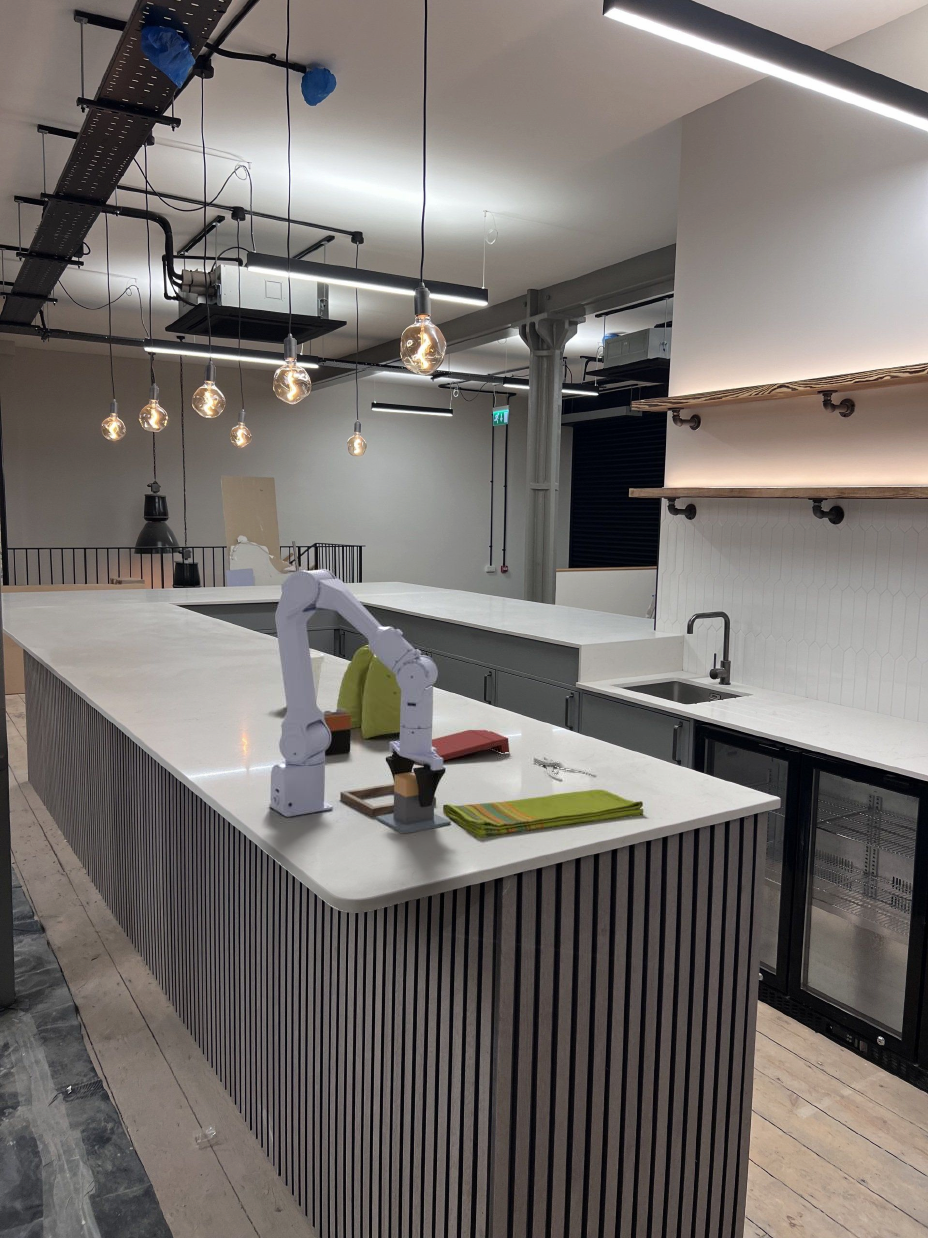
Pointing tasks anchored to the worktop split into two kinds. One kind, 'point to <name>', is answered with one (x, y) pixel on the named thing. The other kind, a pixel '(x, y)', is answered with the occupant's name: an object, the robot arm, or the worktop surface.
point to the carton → (468, 743)
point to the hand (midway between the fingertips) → (413, 800)
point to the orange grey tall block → (409, 801)
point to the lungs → (370, 695)
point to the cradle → (354, 795)
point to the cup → (316, 668)
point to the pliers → (551, 763)
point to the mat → (414, 826)
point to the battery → (338, 731)
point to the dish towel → (541, 812)
